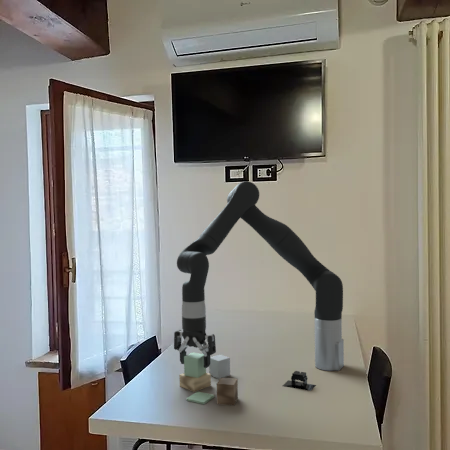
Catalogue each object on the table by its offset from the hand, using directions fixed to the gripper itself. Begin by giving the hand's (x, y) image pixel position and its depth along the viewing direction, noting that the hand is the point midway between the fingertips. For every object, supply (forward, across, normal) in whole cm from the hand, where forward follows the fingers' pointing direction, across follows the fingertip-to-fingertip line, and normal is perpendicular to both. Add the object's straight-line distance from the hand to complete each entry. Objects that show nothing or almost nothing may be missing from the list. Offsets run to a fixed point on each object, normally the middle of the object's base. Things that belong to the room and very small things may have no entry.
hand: (194, 365), depth 155 cm
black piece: (+7, -29, -15) cm, 34 cm away
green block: (+3, 0, 0) cm, 3 cm away
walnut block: (+7, -15, +6) cm, 17 cm away
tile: (+7, -7, +8) cm, 13 cm away
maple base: (+7, 0, 0) cm, 7 cm away
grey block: (+7, -2, -12) cm, 14 cm away
